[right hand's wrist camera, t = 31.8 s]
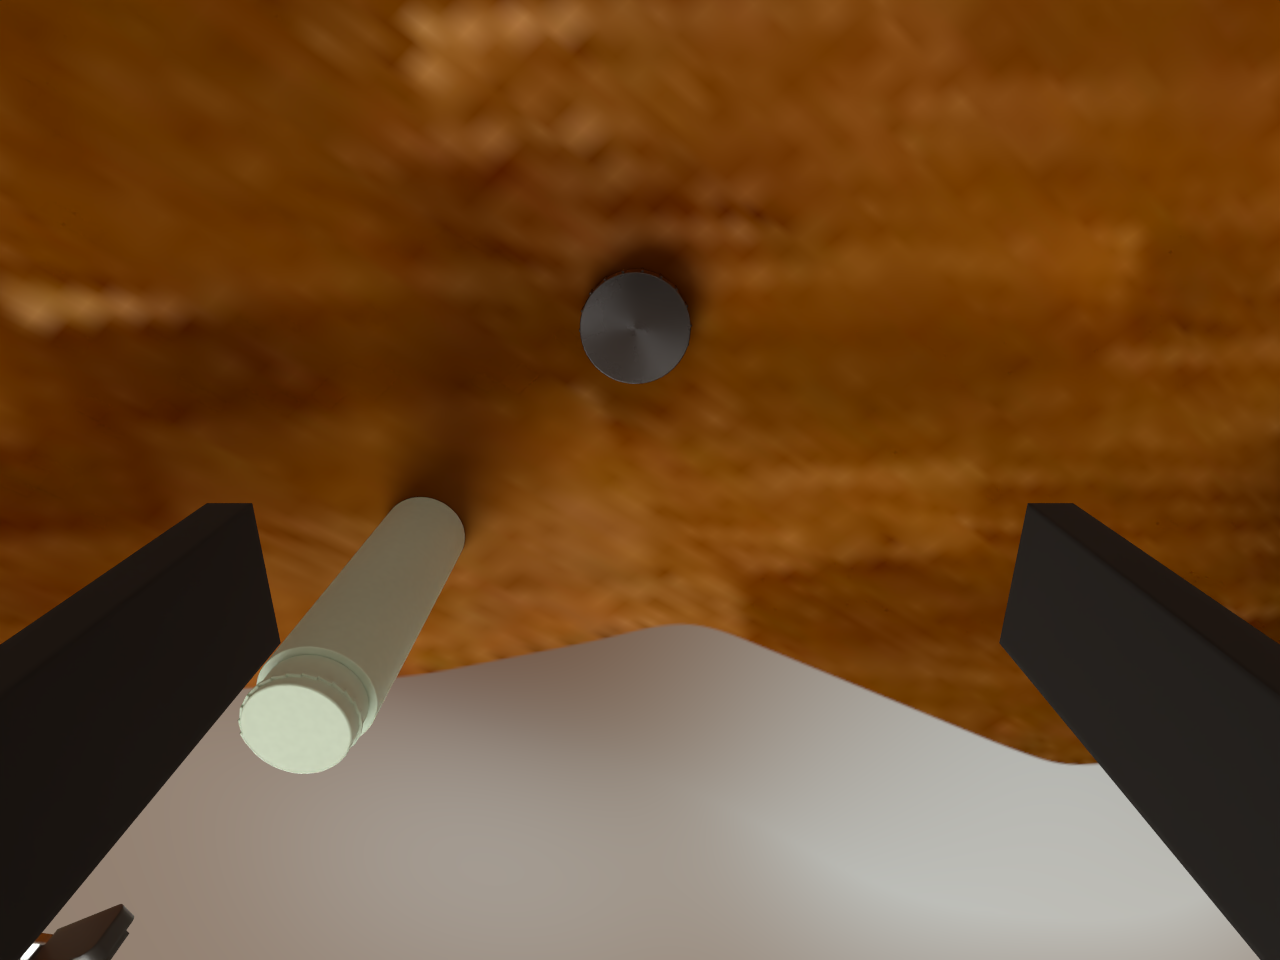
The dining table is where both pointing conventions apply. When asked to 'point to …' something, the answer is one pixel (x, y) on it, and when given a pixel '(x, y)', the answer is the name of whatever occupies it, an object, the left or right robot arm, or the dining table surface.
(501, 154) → the dining table surface
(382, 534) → the pale green capped tube
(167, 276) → the dining table surface
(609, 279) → the lid
